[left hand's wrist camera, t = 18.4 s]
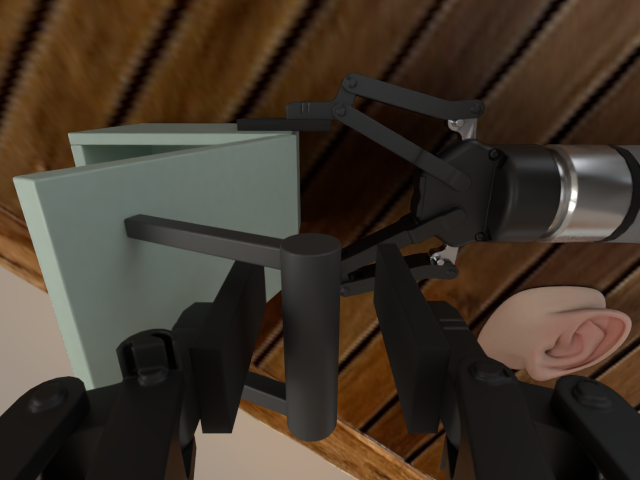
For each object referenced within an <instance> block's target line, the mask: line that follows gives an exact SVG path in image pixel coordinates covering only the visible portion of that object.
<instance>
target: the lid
mask: <svg viewBox="0 0 640 480" xmlns="http://www.w3.org/2000/svg"><path fill="white" fill-rule="evenodd" d="M13 181H14V184H15V188H16V191H17V194H18V197H19V200H20V204H21V207H22V210H23V213H24V216H25V220H26V223H27V226H28V229H29V232H30V236H31V239H32V242H33V245H34V248H35V251H36V255H37V258H38V261H39V264H40V267H41V271H42V274H43V277H44V280H45V283H46V287H47V290H48V293H49V296H50V299H51V303H52V306H53V309H54V312H55V315H56V319H57V322H58V325H59V328H60V331H61V334H62V338H63V341H64V344H65V347H66V350H67V354H68V357H69V360H70V363H71V366H72V370H73V373H74V376H75V377H76V378H79V379H80V380H82V381H83V382H84V385H85V388H86V391H87V390H91V389H96V388H100V387H105V386H109V385H113V384H116V383H120V382H122V380H123V377H122V373H121V369H120V365H119V361H118V357H117V353H116V349H117V347H118V346H119V345H120V343H121V342H123V341H124V340H125V339H127V338H128V337H130V336H132V335H134V334H136V333H139V332H141V331H145V330H149V329H167V330H172V327H173V326H174V324H175V323H177V320H178V318H179V317H180V315H181V314H182V312H183V311H184V310H185V309H186V308H188V307H189V306H191V305H192V304H193V303H195V302H213V301H214V299H215V298H216V296H217V294H218V292H219V290H220V288H221V286H222V284H223V282H224V281H225V279H226V277H227V275H228V273H229V271H230V269H231V267H232V266H233V264H234V262H235V260H236V261H241V262H245V263H250V264H255V265H259V266H264V270H265V286H266V303H267V302H268V301H269V300H270V299H271V298H272V297H273V296H275V295H276V294H277V293H278V292H279V291H280V290H281V289H282V313H283V337H284V361H285V383H282V382H279V381H276V380H274V379H271V378H268V377H265V376H262V375H259V374H257V373H254V372H251V371H248V373H247V377H246V381H245V385H244V388H243V392H242V396H241V398H242V399H245V400H247V401H250V402H252V403H255V404H257V405H260V406H263V407H265V408H268V409H270V410H273V411H275V412H278V413H280V414H283V415H286V416H287V425H288V428H289V430H290V431H291V433H292V434H293V435H294V436H295V437H297V438H298V439H300V440H303V441H308V442H315V441H320V440H322V439H325V438H326V437H328V436H329V435H330V434H331V433H332V432H333V431H334V429H335V427H336V423H337V394H338V357H339V319H340V282H341V242H340V241H339V240H338V239H337V238H335V237H333V236H330V235H326V234H320V233H302V234H298V195H297V147H296V135H288V134H281V135H275V136H268V137H262V138H256V139H249V140H243V141H237V142H230V143H224V144H218V145H212V146H205V147H199V148H193V149H186V150H180V151H174V152H167V153H161V154H155V155H148V156H142V157H136V158H129V159H123V160H117V161H110V162H104V163H98V164H91V165H85V166H79V167H72V168H66V169H60V170H53V171H47V172H41V173H34V174H28V175H22V176H16V177H14V178H13Z"/></svg>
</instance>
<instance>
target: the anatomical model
mask: <svg viewBox="0 0 640 480" xmlns="http://www.w3.org/2000/svg"><path fill="white" fill-rule="evenodd" d="M631 325H632V323H631V319H630V318H629V317H628V316H627V315H626V314H624V313H622V312H620V311H617V310H613V309H606V303H605V298H604V296H603V295H602V293H601V292H599V291H597V290H595V289H592V288H586V287H573V286H557V287H541V288H534V289H529V290H525V291H521V292H519V293H517V294H514V295H513V296H511V297H510V298H508V299H507V300H506V301H504V302H503V303H502V304H501V305H500V306H499V307H498V308H497V309H496V311H495V312H494V313H493V314H492V315H491V317H490V318H489V319H488V321H487V322H486V324H485V325H484V327H483V329H482V330H481V332H480V334H479V337H478V340H477V341H478V343H479V344H480V346H481V347H482V349H483V350H484V352H485V353H486V355H487V356H489V357H490V358H493V359H495V360H497V361H499V362H501V363H503V364H505V365H506V366H507V367H510V368H513V369H526V370H527V372H528V373H529V375H530V376H531V377H532V378H533V379H535V380H538V381H544V380H548V379H552V378H556V377H559V376H562V375H566V374H569V373H572V372H575V371H579V370H582V369H584V368H587V367H590V366H592V365H594V364H596V363H598V362H600V361H602V360H603V359H605V358H606V357H607V356H609V355H610V354H611V353H613V352H614V351H615V350H616V349H617V348H619V347H620V345H621V344H622V343H623V342H624V341H625V339H626V338H627V336H628V334H629V332H630V330H631Z"/></svg>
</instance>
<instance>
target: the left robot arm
mask: <svg viewBox="0 0 640 480" xmlns="http://www.w3.org/2000/svg"><path fill="white" fill-rule="evenodd" d="M265 306H266V286H265V270H264V266H259V265H255V264H250V263H245V262H241V261H236V260H235V262H234V264H233V266H232V267H231V269H230V271H229V273H228V275H227V277H226V279H225V281H224V282H223V284H222V286H221V288H220V290H219V292H218V294H217V296H216V298H215V299H214V301H213V302H195V303H193V304H192V305H191V306H189V307H188V308H186V309H185V310H184V311H183V312H182V314H181V315H180V317H179V318H178V320H177V323H175V324H174V326H173V327H172V330H167V329H149V330H145V331H141V332H139V333H136V334H134V335H132V336H130V337H128V338H127V339H125V340H124V341H123V342H121V343H120V345H119V346H118V347H117V349H116V353H117V357H118V361H119V365H120V369H121V373H122V377H123V380H122V382H120V383H116V384H113V385H109V386H105V387H100V388H96V389H91V390H87V391H86V388H85V385H84V382H83V381H82V380H80V379H79V378H76V377H70V376H67V377H59V378H55V379H52V380H49V381H46V382H43V383H41V384H39V385H37V386H36V387H34V388H32V389H30V390H29V391H27V392H26V393H25V394H24V395H22V396H21V397H20V398H19V399H18V400H17V401H16V402H15V403H14V404H13V405H12V406H11V407H10V408H9V409H8V410H6V411H5V412H4V413H3V415H1V416H0V480H36V479H37V480H193V479H194V468H195V457H196V442H195V436H194V433H195V431H196V428H197V425H198V423H199V420H201V426H202V432H203V433H232V430H233V426H234V422H235V419H236V415H237V411H238V407H239V403H240V400H241V396H242V392H243V388H244V385H245V381H246V377H247V373H248V370H249V366H250V362H251V358H252V355H253V351H254V347H255V343H256V340H257V336H258V332H259V328H260V324H261V321H262V317H263V313H264V309H265ZM374 306H375V309H376V313H377V317H378V321H379V324H380V328H381V332H382V336H383V340H384V343H385V347H386V351H387V355H388V358H389V362H390V366H391V370H392V373H393V377H394V381H395V385H396V388H397V392H398V396H399V400H400V403H401V407H402V411H403V415H404V419H405V422H406V426H407V430H408V433H437V432H438V426H439V420H440V418H441V421H442V424H443V426H444V429H445V432H446V436H445V442H444V448H443V453H442V459H441V465H440V469H442V470H445V467H446V478H447V480H605V479H606V480H640V414H639V413H638V412H637V411H636V410H635V409H634V408H633V407H632V406H631V405H630V404H629V403H628V402H627V401H626V400H625V399H624V398H622V397H621V396H620V395H619V394H618V393H616V392H615V391H614V390H613V389H611V388H610V387H608V386H606V385H604V384H602V383H600V382H598V381H596V380H593V379H590V378H587V377H584V376H577V375H567V376H562V377H561V378H559V379H558V380H557V381H556V385H555V388H554V389H551V388H546V387H542V386H538V385H533V384H529V383H525V382H522V381H518V379H517V377H516V376H515V374H514V373H513V371H512V370H511V369H509V368H508V367H507V366H506V365H505V364H503V363H501V362H499V361H497V360H495V359H493V358H489V357H488V356H487V355H486V353H485V352H484V350H483V349H482V347H481V346H480V344H479V343H478V341H477V340H476V338H475V337H474V335H473V333H472V332H471V330H469V327H468V326H467V324H466V323H465V321H463V318H462V317H461V315H460V314H459V312H458V311H457V309H455V308H454V307H453V306H451V305H450V304H448V303H447V302H446V301H426V299H425V298H424V296H423V294H422V292H421V290H420V288H419V286H418V284H417V282H416V281H415V279H414V277H413V275H412V273H411V271H410V269H409V267H408V266H407V264H406V262H405V260H404V258H403V256H402V254H401V252H400V250H399V249H398V247H397V245H396V244H377V254H376V270H375V286H374ZM603 477H604V478H605V479H604V478H603Z"/></svg>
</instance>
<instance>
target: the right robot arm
mask: <svg viewBox="0 0 640 480" xmlns="http://www.w3.org/2000/svg"><path fill="white" fill-rule="evenodd" d="M356 96H359V97H363V98H366V99H369V100H373V101H376V102H380V103H383V104H387V105H390V106H393V107H397V108H400V109H404V110H407V111H411V112H414V113H417V114H421V115H424V116H428V117H432V118H438V119H444V126H445V127H446V128H447V129H448V130H453V131H455V132H456V133H457V136H458V139H456V140H455V141H453V142H452V143H450V144H449V145H447V146H446V147H444V148H443V149H441V150H440V151H438V152H437V153H435V154H434V155H432V154H431V153H429V152H427V151H426V150H424V149H422V148H420V147H419V146H417V145H415V144H414V143H412V142H410V141H409V140H407V139H405V138H403V137H402V136H400V135H398V134H397V133H395V132H393V131H392V130H390V129H388V128H387V127H385V126H383V125H382V124H380V123H378V122H377V121H375V120H373V119H372V118H370V117H368V116H366V115H365V114H363V113H361V112H360V111H358V110H356V109H355V108H353V107H352V105H353V102H354V100H355V97H356ZM484 109H485V107H484V104H483V102H482V101H480V100H455V101H446V100H443V99H440V98H436V97H433V96H430V95H426V94H423V93H420V92H416V91H413V90H410V89H406V88H403V87H399V86H396V85H393V84H389V83H386V82H383V81H379V80H376V79H373V78H369V77H366V76H363V75H359V74H356V73H349V74H347V75H346V76H345V77H344V78H343V79H342V81H341V85H340V87H339V90H338V93H337V95H336V97H335V98H334V99H333V100H332V101H329V102H292V103H289V104H287V105H286V113H287V118H242V119H238V120H237V131H331V120H339V121H340V122H342V123H344V124H345V125H347V126H349V127H351V128H352V129H354V130H356V131H358V132H359V133H361V134H363V135H364V136H366V137H368V138H370V139H371V140H373V141H375V142H376V143H378V144H380V145H382V146H383V147H385V148H387V149H388V150H390V151H392V152H394V153H395V154H397V155H399V156H400V157H402V158H404V159H406V160H407V161H409V162H411V163H412V164H414V165H416V166H417V167H418V168H417V170H416V172H414V174H413V185H414V194H413V196H412V199H411V205H410V210H411V211H412V212H411V213H409V214H407V215H405V216H403V217H401V218H400V220H399V221H397V222H395V223H393V224H391V225H389V226H387V227H385V228H383V229H381V230H379V231H377V232H375V233H373V234H371V235H369V236H367V237H365V238H363V239H361V240H359V241H357V242H355V243H353V244H351V245H349V246H347V247H345V248H343V249H341V282H340V295H341V296H343V297H348V296H352V295H356V294H361V293H365V292H370V291H374V286H375V270H376V263H375V264H371V265H367V264H369V263H371V262H373V261H376V254H377V244H396V245H397V247H398V249H400V248H403V247H405V246H407V245H409V244H412V243H413V244H416V243H419V242H422V241H424V240H426V239H428V238H430V237H432V236H436V237H437V238H438V239H440V240H441V241H442V242H443V244H442V245H441V246H440V247H438V248H431V249H430V250H429V252H428V253H418V254H413V255H409V256H404V257H403V258H404V260H405V262H406V264H407V266H408V267H409V269H410V271H411V273H412V275H413V277H414V279H415V281H417V280H422V279H426V278H438V279H454V278H455V277H456V276H457V275H458V269H457V268H456V266H455V265H454V264H455V260H456V256H457V252H458V248H459V247H461V246H464V245H466V244H468V243H471V242H532V241H537V242H541V243H563V242H593V243H600V242H621V243H640V145H555V144H551V145H545V146H541V145H538V144H484V143H482V142H480V141H479V140H477V139H476V128H477V118H478V117H480V116H481V115H482V114H483V112H484ZM365 265H366V266H365Z"/></svg>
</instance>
